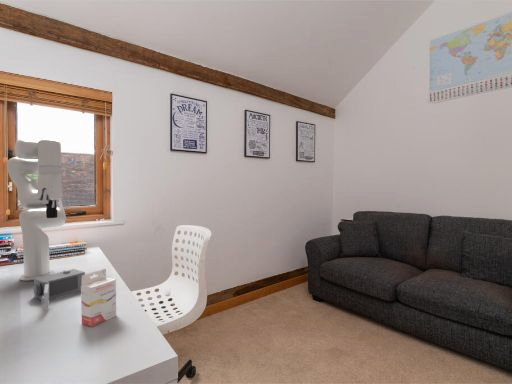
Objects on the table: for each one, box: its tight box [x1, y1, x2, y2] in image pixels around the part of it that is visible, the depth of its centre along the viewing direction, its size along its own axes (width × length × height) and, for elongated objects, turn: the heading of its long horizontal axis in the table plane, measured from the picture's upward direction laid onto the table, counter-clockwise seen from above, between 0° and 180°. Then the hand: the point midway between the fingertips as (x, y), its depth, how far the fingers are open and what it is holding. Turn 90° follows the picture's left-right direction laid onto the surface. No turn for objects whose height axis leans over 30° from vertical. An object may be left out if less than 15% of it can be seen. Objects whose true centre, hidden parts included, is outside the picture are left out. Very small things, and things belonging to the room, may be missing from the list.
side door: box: [41, 282, 50, 310], centre depth 100 cm, size 2×12×6 cm, turn 34°
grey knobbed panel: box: [33, 268, 86, 301], centre depth 112 cm, size 9×16×8 cm, turn 146°
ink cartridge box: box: [80, 268, 117, 328], centre depth 89 cm, size 9×5×15 cm, turn 155°
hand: (52, 217), depth 115 cm, fingers closed
